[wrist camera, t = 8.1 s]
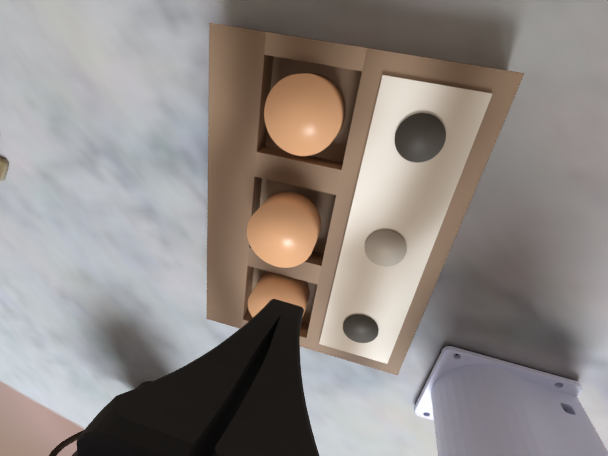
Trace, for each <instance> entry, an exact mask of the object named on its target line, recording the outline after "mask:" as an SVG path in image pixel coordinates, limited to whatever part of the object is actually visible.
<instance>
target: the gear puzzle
mask: <svg viewBox="0 0 608 456" xmlns="http://www.w3.org/2000/svg"><path fill="white" fill-rule="evenodd" d="M8 167H9V162H8V161H7V160H6V159H4V158H1V157H0V181H3V180H5V178H6V175H7V171H8Z"/></svg>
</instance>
